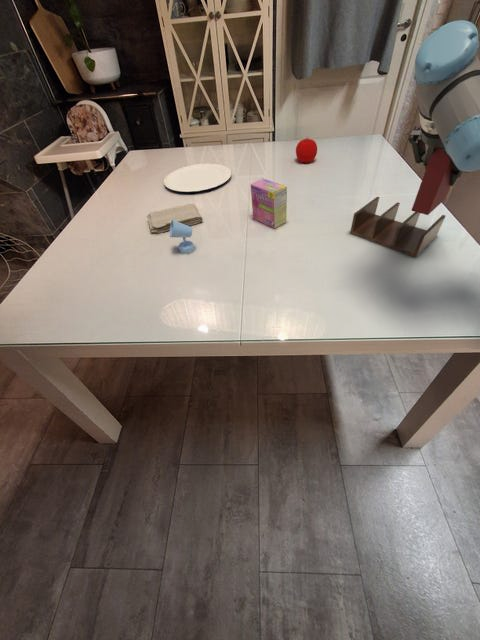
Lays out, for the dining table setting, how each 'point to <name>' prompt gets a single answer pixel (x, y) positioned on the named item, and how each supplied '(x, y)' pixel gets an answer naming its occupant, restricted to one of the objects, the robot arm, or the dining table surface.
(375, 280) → the dining table surface
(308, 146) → the fruit
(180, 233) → the spotlight
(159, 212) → the washcloth
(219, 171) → the plate
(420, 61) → the robot arm
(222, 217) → the dining table surface
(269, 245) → the dining table surface
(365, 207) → the rack
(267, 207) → the box
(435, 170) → the upright red slab
